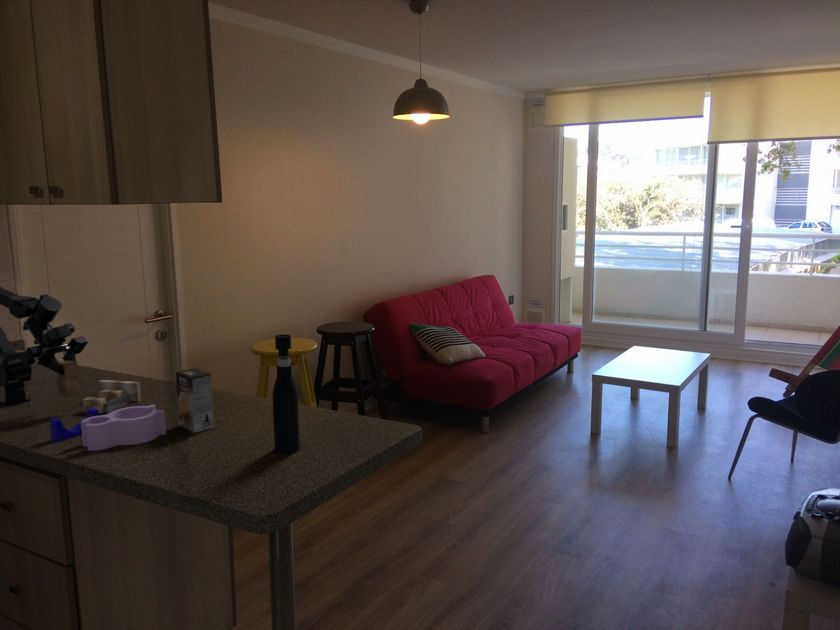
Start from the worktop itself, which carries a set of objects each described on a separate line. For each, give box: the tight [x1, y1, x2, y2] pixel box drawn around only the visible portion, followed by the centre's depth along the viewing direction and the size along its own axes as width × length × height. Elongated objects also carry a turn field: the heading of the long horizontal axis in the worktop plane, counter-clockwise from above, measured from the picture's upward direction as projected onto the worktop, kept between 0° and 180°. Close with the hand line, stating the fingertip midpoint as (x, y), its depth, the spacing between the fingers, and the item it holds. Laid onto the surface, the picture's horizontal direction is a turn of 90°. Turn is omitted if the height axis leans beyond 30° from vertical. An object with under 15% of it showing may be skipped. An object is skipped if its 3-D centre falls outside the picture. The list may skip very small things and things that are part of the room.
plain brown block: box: [56, 360, 80, 398], centre depth 203 cm, size 4×4×10 cm
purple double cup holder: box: [80, 404, 167, 452], centre depth 184 cm, size 20×12×7 cm, turn 132°
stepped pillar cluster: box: [82, 379, 142, 415], centre depth 213 cm, size 14×14×6 cm
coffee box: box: [175, 367, 214, 434], centre depth 192 cm, size 9×6×16 cm
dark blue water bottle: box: [271, 334, 301, 455], centre depth 174 cm, size 6×6×30 cm
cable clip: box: [49, 408, 100, 443], centre depth 188 cm, size 12×4×6 cm, turn 145°
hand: (70, 372), depth 203 cm, fingers closed on plain brown block, 4 cm apart
